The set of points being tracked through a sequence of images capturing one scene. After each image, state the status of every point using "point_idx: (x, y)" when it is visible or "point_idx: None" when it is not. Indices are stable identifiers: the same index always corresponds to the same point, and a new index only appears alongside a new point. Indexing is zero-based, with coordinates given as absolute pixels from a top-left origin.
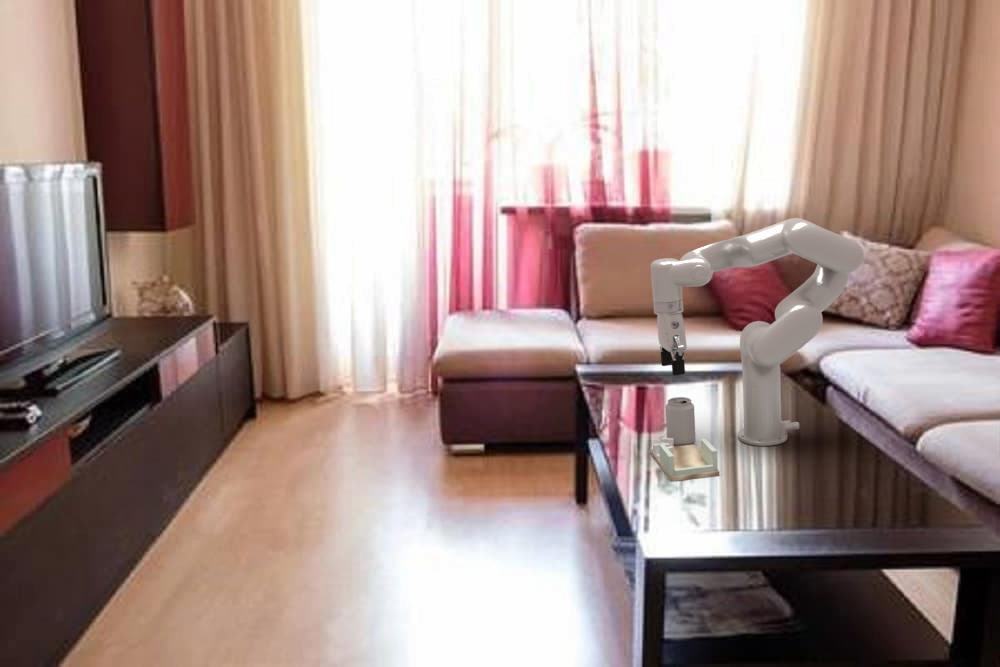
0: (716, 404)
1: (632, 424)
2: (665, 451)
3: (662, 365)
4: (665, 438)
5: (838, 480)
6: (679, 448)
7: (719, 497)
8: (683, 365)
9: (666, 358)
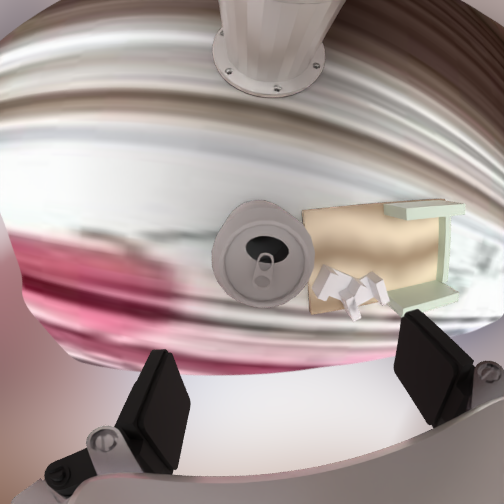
0: (41, 129)
1: (125, 320)
2: (438, 306)
3: (187, 404)
4: (326, 291)
5: (457, 48)
6: (322, 250)
7: (489, 223)
8: (444, 341)
9: (174, 418)
